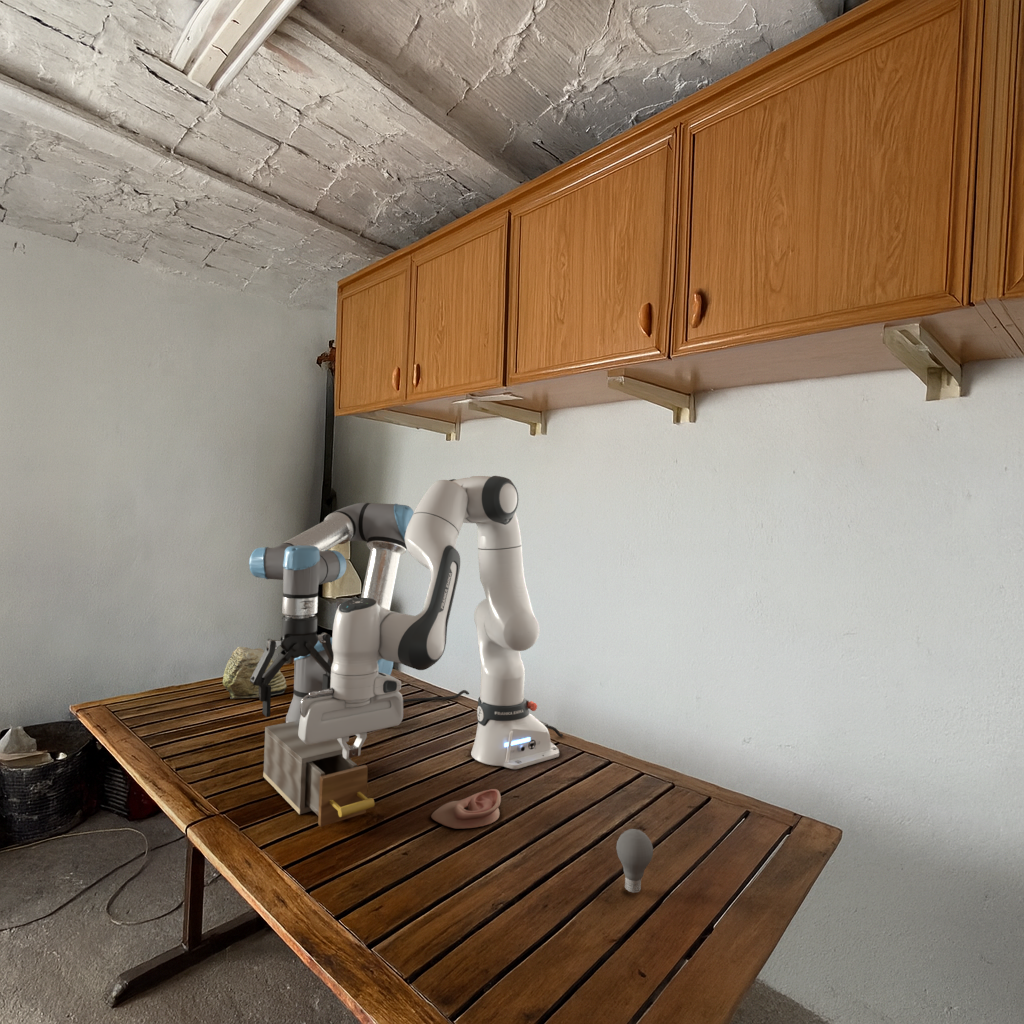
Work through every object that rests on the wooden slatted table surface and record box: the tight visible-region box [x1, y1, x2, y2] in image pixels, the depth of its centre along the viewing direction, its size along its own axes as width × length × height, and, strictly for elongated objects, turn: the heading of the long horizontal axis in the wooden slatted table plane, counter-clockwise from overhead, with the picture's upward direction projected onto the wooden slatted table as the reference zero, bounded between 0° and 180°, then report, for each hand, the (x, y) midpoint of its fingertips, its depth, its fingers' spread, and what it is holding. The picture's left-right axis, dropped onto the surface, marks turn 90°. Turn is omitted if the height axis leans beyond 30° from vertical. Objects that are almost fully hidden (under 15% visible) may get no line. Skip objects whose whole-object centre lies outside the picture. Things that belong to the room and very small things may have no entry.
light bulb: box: [615, 828, 654, 894], centre depth 106 cm, size 6×6×10 cm
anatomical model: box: [430, 788, 502, 830], centre depth 128 cm, size 13×4×12 cm
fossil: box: [222, 646, 288, 699], centre depth 198 cm, size 9×18×15 cm, turn 132°
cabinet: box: [262, 720, 352, 815], centre depth 137 cm, size 21×11×11 cm, turn 40°
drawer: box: [305, 754, 375, 828], centre depth 128 cm, size 25×9×9 cm, turn 40°
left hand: (297, 709), depth 142 cm, fingers open, 13 cm apart
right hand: (351, 756), depth 121 cm, fingers closed
